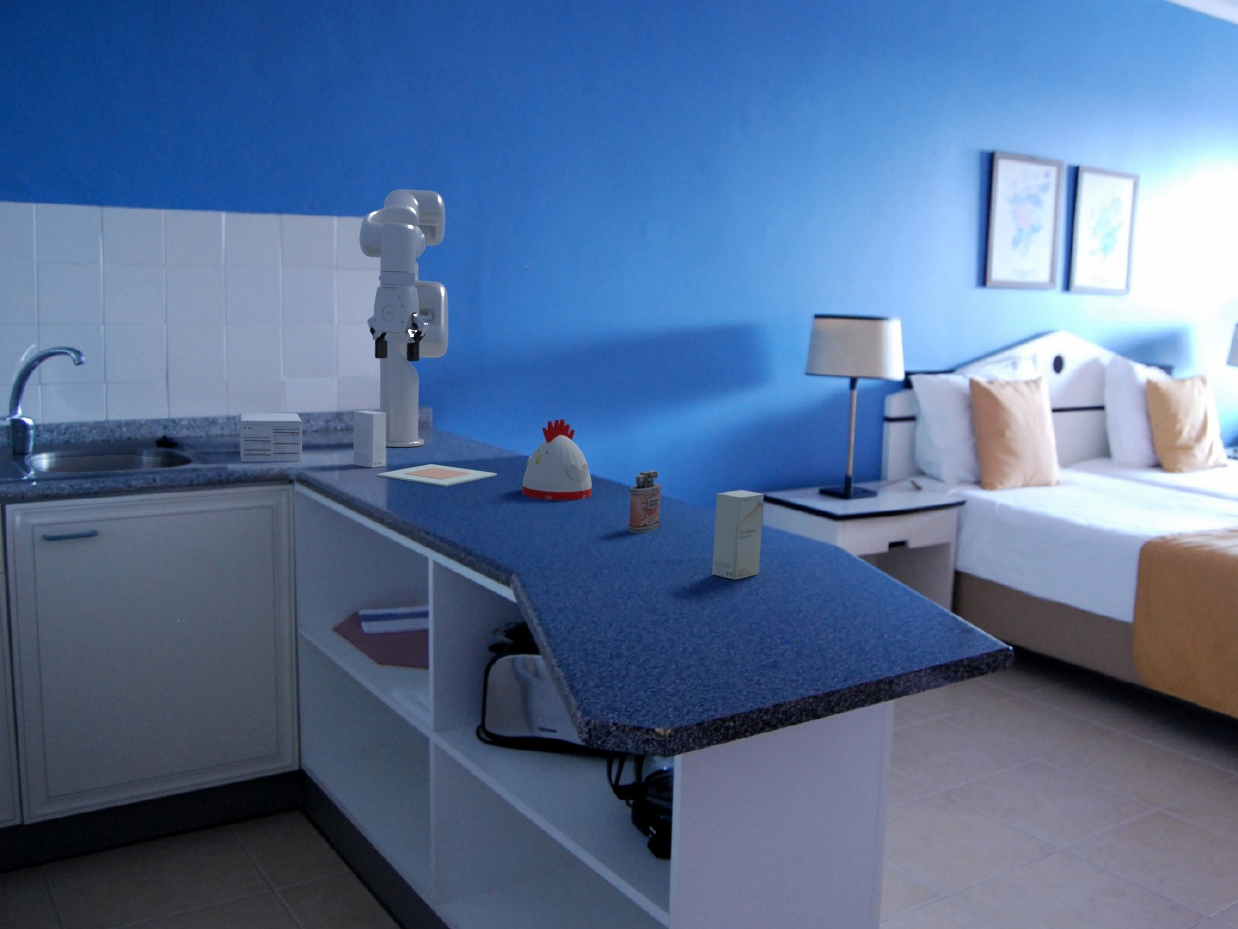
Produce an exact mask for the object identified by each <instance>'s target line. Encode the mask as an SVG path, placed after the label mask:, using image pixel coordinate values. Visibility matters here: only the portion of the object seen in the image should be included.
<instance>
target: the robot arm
mask: <svg viewBox="0 0 1238 929" xmlns="http://www.w3.org/2000/svg"><path fill="white" fill-rule="evenodd" d="M445 206H446V205H445V202H444V200H443V197H442V196H441V194H440V193H438V192H437V191H434V190H423V189H420V190H418V189H408V188H407V189H406V188H402V189H401V188H400V189H395V190H392V191H390V192H389V193H388V194H387V196H386V197H385V199H384V202H383V208H380V209H377V210H373V211H371V212H369V213H367V214H366V215H365V216H364V217H363V219H362V222H361V224H360V225H361V226H360V230H359V238H358V240H359V246H360V250H361V251H362V253H363V254H364V255H365V256H366V257H370V258H379V259H380V266H379V267H380V268H379V269H380V270H379V271H380V272H379V276H378V280H379V281H380V282H379V286H377V288H376V292H375V298H374V304H373V305H374V306H373V316H371V317H369V318H368V319H367V325H368V329H369V332H370V333H371V335H372V340H373V341H374V358H375V359H377V360H378V359H379V374H380V376H379V378H380V379H379V380H380V381H379V382H380V383H379V384H380V385H379V412H383V413H386V447H391V448H392V447H393V448H394V447H395V448H411V447H419V446H423V445H424V444H425V439H424V438H420V437H419V395H420V394H419V392H420V391H419V389H420V379H419V378H420V376H419V373H418V371H417V369H416V368H415V366H414V364H412V363H411V362H419V361H420V358H427V359H432V358H433V359H437V358H441V357H444V356H445V355H446V353H447V351H448V348H449V298H448V292H447V288H446V286H445V285H444V284H442V283H441V282H438V281H434V280H433V281H431V280H419V270H420V269H419V268H420V267H419V263H418V262H417V260H416V259H418V258H420V257H421V256H422V255H423V253H424V251H425V250H426V247H428V246H430V247H432V246H439V245H440V244H441V243H442V242H443V240H444V237H445V232H446V231H445V230H446V229H445V228H446V207H445Z"/></svg>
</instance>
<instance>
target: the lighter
mask: <svg viewBox="0 0 1238 929" xmlns="http://www.w3.org/2000/svg"><path fill="white" fill-rule="evenodd" d="M656 479H659V472H658V470H651V471H640V472H639V474H637V475H635V482H636V483H635V484H636V485H634V486H631V487H629V493H630V504H629V506H630V507H629V523H628V524H629V525H628V526H627V532H629V533H633V534H641V533H642V534H643V533H646V532H650V531H654V530H656V529H658V528H660V527H661V526H660V524H661V521H660V506H661V490H663V489H662V488H663V487H662V486H663V485H662V484H661V483H655V482H654V481H655V480H656Z"/></svg>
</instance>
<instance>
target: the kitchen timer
mask: <svg viewBox="0 0 1238 929" xmlns="http://www.w3.org/2000/svg"><path fill="white" fill-rule="evenodd" d="M541 428H542V429H541V430H542V433H543V435H544V440H543V441H542V442H541V443H540V444H539V445H538V446H537V447H536V449H534V452H533V453H532V455H529V457H528V458H527V461H526V469H525V472H524V474H523V479H522V487H521V493H522V494H523V495H524V496H526V497H529V498H534V499H541V500H550V501H575V500H583V499H587V498H590V497H591V496H592V490H593V484H592V478H591V474H590V469H589V463H588V462H587V460H586V457H585V455H584V454H583V452H582V450H581V448H580V447H579V446H578V445H577V443H575V442H574V441H573V438H574V435H575V431H576V430H575V429H570V428H571V424H568V423H566V424H565V419H562V418H561V419H560V420H559V419H554V423H553V421H552V420H548V421H547V428H546V427H543V426H542V427H541Z"/></svg>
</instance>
